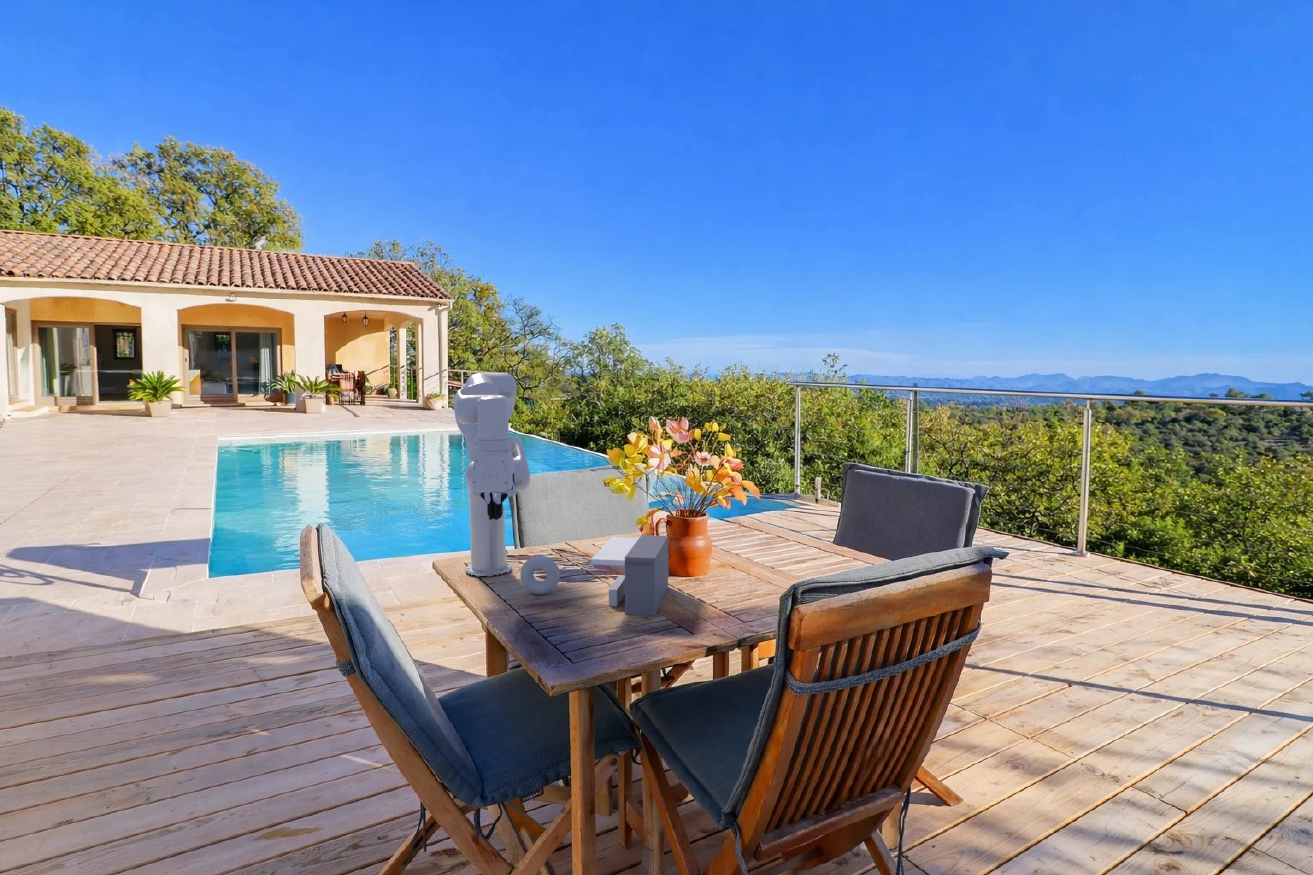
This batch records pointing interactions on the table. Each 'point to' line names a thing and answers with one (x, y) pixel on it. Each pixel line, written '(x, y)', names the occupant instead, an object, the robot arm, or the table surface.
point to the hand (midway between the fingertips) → (495, 518)
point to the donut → (534, 584)
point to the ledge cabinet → (637, 572)
